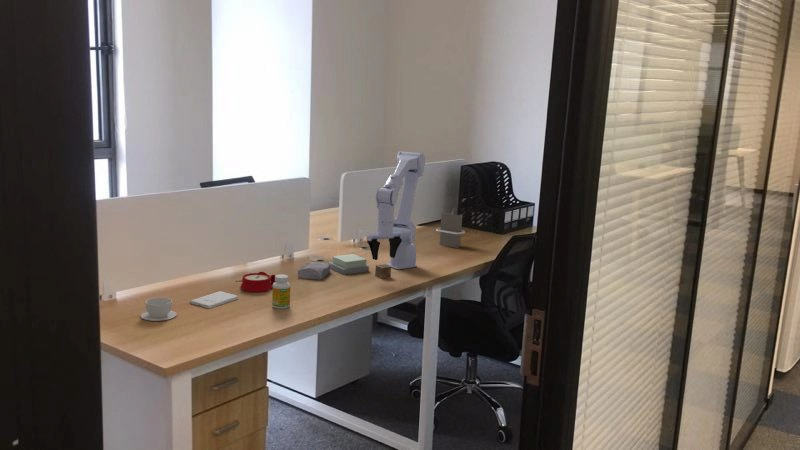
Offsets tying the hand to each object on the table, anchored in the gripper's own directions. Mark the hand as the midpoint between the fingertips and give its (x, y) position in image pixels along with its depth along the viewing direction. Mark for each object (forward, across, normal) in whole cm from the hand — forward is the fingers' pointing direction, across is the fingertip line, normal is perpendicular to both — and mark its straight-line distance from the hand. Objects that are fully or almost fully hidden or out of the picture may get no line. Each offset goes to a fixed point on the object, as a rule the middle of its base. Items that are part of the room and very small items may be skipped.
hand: (383, 258), depth 262 cm
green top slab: (+5, -6, +14) cm, 16 cm away
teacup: (+8, -83, -6) cm, 84 cm away
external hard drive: (+8, -64, 0) cm, 64 cm away
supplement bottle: (+7, -48, -14) cm, 50 cm away
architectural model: (+7, +55, +28) cm, 62 cm away
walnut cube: (+7, 0, 0) cm, 7 cm away
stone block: (+7, -21, +13) cm, 26 cm away
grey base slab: (+8, -6, +14) cm, 17 cm away
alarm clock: (+7, -45, +8) cm, 46 cm away
